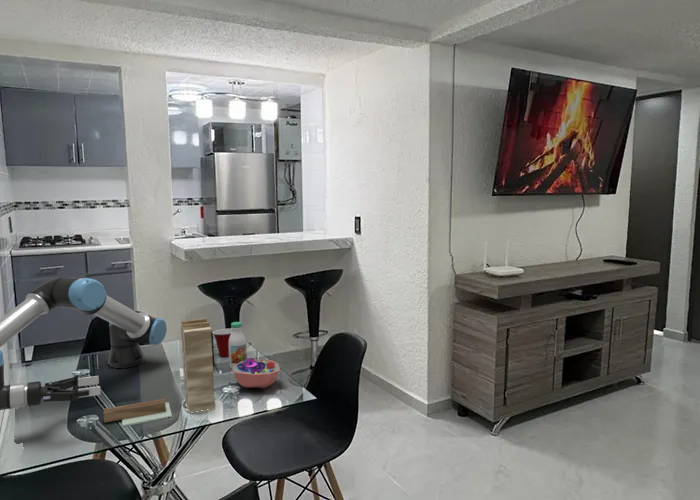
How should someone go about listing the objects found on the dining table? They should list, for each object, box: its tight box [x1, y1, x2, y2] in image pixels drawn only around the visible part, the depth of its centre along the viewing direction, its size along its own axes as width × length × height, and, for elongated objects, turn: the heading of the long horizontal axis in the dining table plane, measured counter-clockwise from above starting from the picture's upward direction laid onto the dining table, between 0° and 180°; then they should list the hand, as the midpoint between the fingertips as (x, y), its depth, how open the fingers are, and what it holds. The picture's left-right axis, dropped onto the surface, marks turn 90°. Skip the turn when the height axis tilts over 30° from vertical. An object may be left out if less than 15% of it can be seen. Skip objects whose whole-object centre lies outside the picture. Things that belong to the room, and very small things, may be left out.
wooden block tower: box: [180, 317, 216, 414], centre depth 189 cm, size 12×9×32 cm
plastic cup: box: [212, 328, 232, 358], centre depth 244 cm, size 11×11×12 cm
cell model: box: [231, 357, 281, 389], centre depth 207 cm, size 17×20×11 cm
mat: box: [121, 401, 173, 428], centre depth 184 cm, size 12×16×1 cm
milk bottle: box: [228, 321, 248, 370], centre depth 228 cm, size 8×8×20 cm
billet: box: [103, 398, 166, 424], centre depth 182 cm, size 4×20×4 cm, turn 113°
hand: (99, 384), depth 177 cm, fingers open, 13 cm apart
